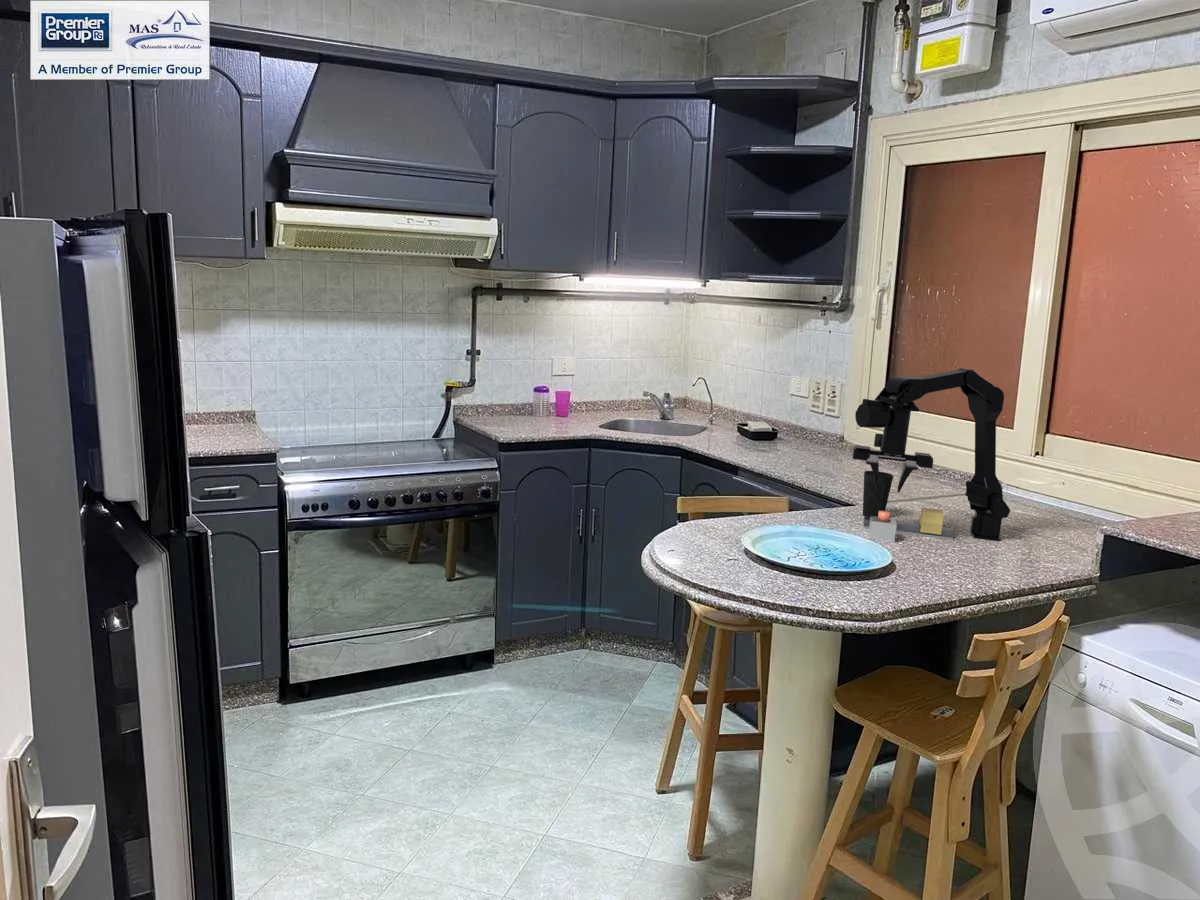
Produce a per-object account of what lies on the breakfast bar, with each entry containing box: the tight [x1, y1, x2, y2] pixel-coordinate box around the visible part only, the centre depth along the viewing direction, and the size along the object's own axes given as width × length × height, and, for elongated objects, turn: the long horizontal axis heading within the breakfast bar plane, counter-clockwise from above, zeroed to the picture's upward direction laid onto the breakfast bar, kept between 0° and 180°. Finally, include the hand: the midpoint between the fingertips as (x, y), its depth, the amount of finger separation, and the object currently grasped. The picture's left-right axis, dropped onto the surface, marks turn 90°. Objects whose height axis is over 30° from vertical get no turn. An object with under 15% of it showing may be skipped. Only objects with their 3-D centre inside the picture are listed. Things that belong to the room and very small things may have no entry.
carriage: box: [918, 506, 945, 535], centre depth 241 cm, size 5×5×5 cm
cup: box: [862, 470, 894, 518], centre depth 256 cm, size 8×8×12 cm
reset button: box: [878, 510, 891, 521], centre depth 233 cm, size 3×3×2 cm
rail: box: [862, 516, 954, 541], centre depth 243 cm, size 22×6×2 cm, turn 76°
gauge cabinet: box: [868, 516, 897, 543], centre depth 233 cm, size 6×6×4 cm
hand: (887, 490), depth 232 cm, fingers open, 5 cm apart
